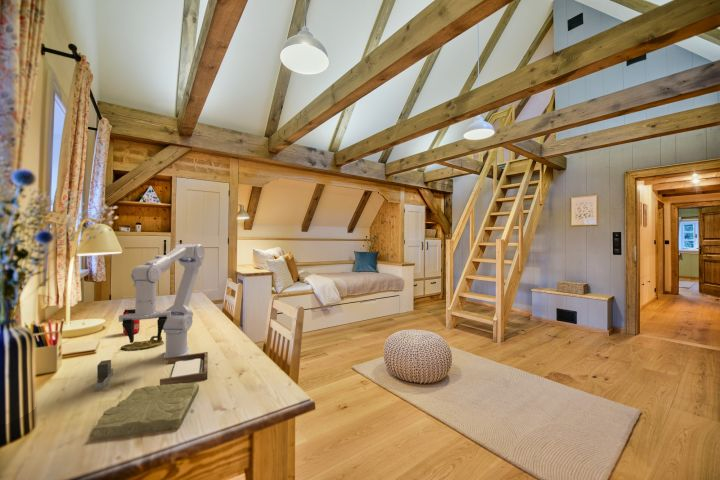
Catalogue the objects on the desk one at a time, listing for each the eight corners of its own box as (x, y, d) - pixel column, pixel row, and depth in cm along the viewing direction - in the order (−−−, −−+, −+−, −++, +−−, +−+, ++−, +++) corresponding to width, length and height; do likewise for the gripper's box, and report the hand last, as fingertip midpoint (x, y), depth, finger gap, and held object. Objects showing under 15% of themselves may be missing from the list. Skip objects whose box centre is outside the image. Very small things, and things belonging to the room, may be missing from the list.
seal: (118, 356, 125) (163, 349, 132) (118, 344, 125) (163, 338, 132) (122, 346, 133) (164, 341, 140) (122, 336, 133) (164, 330, 140)
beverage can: (142, 332, 153) (142, 307, 154) (130, 335, 147) (130, 310, 147) (132, 331, 155) (132, 306, 155) (119, 334, 149) (119, 309, 149)
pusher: (104, 376, 104) (104, 356, 104) (114, 375, 105) (114, 355, 105) (93, 392, 93) (93, 370, 93) (103, 390, 94) (103, 368, 94)
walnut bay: (167, 362, 115) (167, 357, 115) (207, 357, 121) (207, 351, 121) (159, 386, 96) (159, 380, 96) (207, 378, 102) (207, 372, 102)
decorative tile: (199, 391, 94) (199, 379, 94) (180, 430, 75) (180, 415, 75) (126, 399, 89) (127, 387, 89) (86, 443, 70) (86, 427, 70)
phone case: (200, 380, 102) (202, 361, 117) (200, 375, 102) (202, 357, 117) (168, 385, 99) (174, 365, 113) (168, 380, 99) (174, 361, 113)
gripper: (116, 304, 101) (116, 347, 101) (169, 300, 107) (169, 341, 107) (121, 300, 107) (121, 340, 107) (171, 297, 113) (171, 335, 113)
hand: (145, 340), depth 108 cm, fingers open, 7 cm apart
